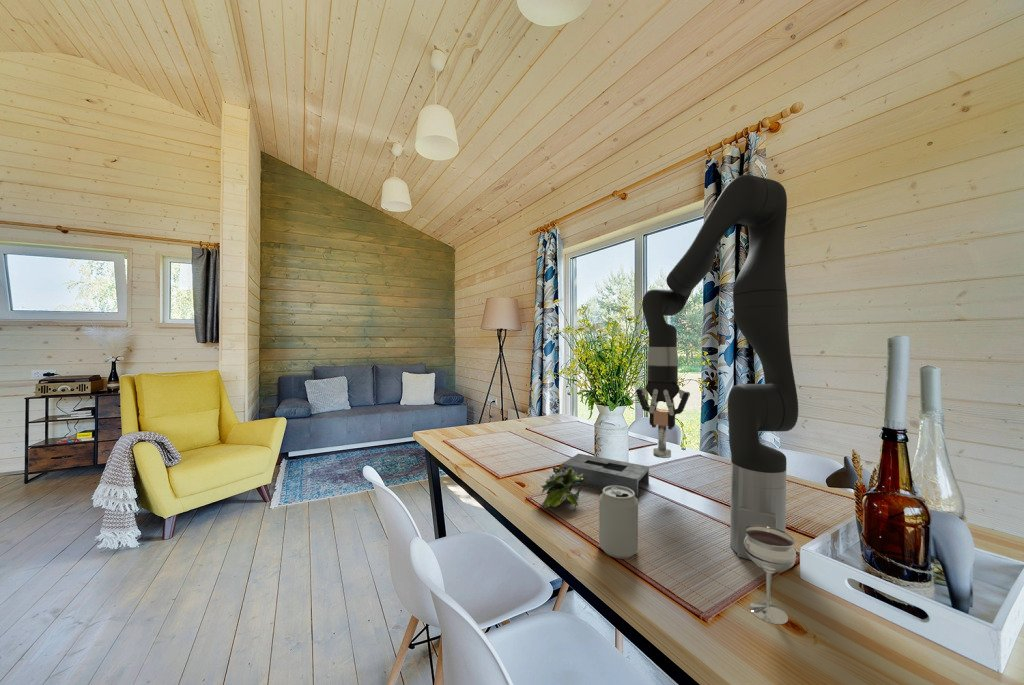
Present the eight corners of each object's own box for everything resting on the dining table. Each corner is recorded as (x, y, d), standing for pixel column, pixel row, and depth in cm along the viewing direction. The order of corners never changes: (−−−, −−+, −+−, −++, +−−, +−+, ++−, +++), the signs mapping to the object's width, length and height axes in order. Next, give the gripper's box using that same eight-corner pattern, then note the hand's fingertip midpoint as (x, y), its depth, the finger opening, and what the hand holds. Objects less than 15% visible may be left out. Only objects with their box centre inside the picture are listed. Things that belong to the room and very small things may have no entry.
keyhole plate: (637, 498, 102) (637, 479, 102) (561, 480, 114) (561, 463, 114) (648, 483, 112) (649, 466, 112) (578, 468, 124) (578, 453, 124)
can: (617, 565, 72) (617, 501, 72) (591, 545, 79) (591, 487, 78) (646, 554, 75) (646, 493, 75) (619, 536, 82) (619, 481, 82)
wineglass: (776, 634, 55) (777, 551, 55) (733, 604, 61) (733, 529, 61) (805, 620, 58) (806, 541, 58) (761, 592, 64) (761, 521, 64)
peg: (669, 459, 100) (669, 412, 100) (651, 456, 103) (651, 411, 103) (672, 455, 104) (672, 410, 104) (655, 452, 106) (655, 408, 106)
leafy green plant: (559, 518, 102) (574, 475, 107) (587, 528, 93) (602, 480, 97) (527, 501, 98) (545, 456, 103) (553, 509, 89) (571, 460, 94)
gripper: (631, 363, 104) (631, 427, 104) (688, 365, 96) (688, 434, 96) (639, 362, 110) (639, 422, 110) (693, 364, 103) (693, 428, 103)
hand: (662, 427), depth 103 cm, fingers closed on peg, 3 cm apart
